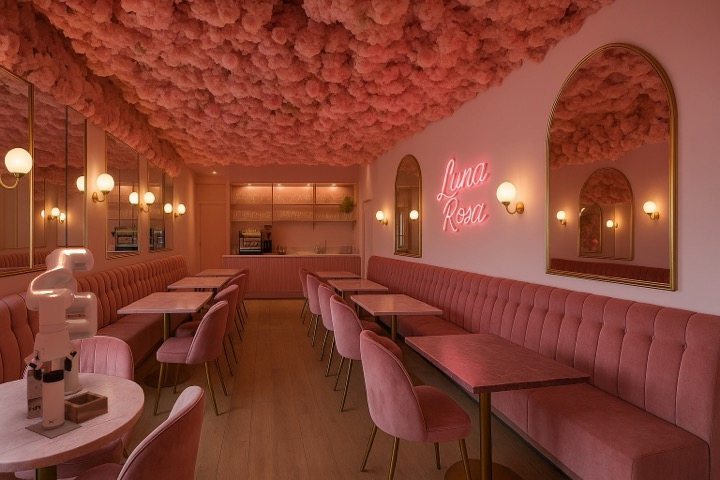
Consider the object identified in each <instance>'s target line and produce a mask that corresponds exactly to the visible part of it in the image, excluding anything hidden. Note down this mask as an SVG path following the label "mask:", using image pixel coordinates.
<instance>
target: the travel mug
mask: <svg viewBox="0 0 720 480" xmlns="http://www.w3.org/2000/svg"><path fill="white" fill-rule="evenodd" d="M64 400H65V396H64V370H63V369H60V370H54V371H52V370H50V371H48V373H44V374H43V416H42V421H43V429H45V430H52V429H56V428H59V427H61V426H63V425H64Z"/></svg>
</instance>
